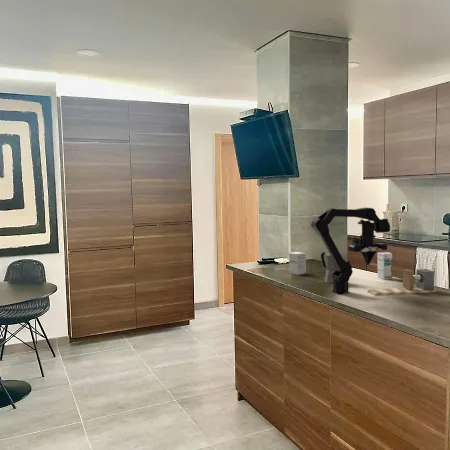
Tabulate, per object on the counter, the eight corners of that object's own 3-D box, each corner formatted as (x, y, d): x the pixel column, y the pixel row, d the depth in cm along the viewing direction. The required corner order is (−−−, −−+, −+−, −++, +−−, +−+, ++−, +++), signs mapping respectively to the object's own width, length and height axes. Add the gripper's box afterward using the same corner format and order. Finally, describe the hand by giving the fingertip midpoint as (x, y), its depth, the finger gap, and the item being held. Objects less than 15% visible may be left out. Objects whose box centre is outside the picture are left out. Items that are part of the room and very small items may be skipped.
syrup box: (383, 279, 245) (383, 253, 244) (377, 277, 251) (377, 252, 250) (392, 278, 247) (392, 252, 246) (386, 276, 252) (386, 251, 251)
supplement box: (288, 273, 269) (288, 252, 268) (297, 271, 274) (297, 251, 273) (297, 275, 263) (297, 254, 262) (306, 273, 268) (306, 252, 267)
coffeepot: (348, 282, 240) (348, 249, 239) (336, 285, 235) (336, 251, 233) (327, 278, 253) (327, 246, 251) (315, 280, 248) (315, 248, 246)
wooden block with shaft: (409, 290, 214) (409, 271, 213) (403, 287, 220) (403, 269, 219) (433, 288, 215) (433, 270, 214) (426, 286, 221) (426, 268, 220)
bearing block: (424, 290, 214) (424, 272, 213) (416, 287, 221) (416, 269, 220) (433, 290, 215) (434, 271, 214) (425, 286, 221) (425, 269, 221)
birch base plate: (374, 295, 211) (374, 293, 211) (367, 291, 219) (367, 289, 219) (435, 292, 214) (435, 290, 214) (426, 288, 222) (426, 286, 222)
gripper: (374, 230, 228) (374, 261, 230) (342, 232, 223) (342, 263, 224) (388, 232, 218) (387, 264, 219) (354, 234, 212) (354, 267, 214)
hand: (367, 264), depth 219 cm, fingers closed
